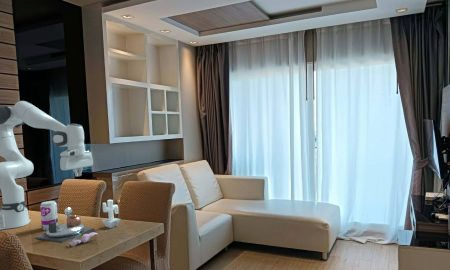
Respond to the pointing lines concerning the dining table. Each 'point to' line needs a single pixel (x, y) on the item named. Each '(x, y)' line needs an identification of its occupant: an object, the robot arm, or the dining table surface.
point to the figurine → (110, 214)
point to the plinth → (65, 238)
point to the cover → (73, 221)
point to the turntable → (63, 230)
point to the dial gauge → (68, 211)
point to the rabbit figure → (83, 239)
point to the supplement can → (48, 214)
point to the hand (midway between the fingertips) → (78, 176)
